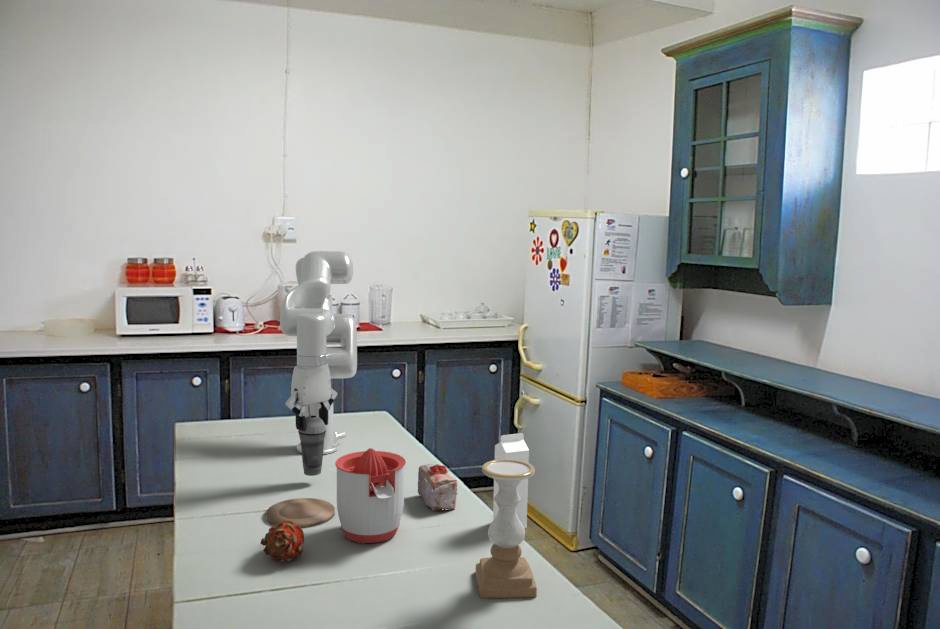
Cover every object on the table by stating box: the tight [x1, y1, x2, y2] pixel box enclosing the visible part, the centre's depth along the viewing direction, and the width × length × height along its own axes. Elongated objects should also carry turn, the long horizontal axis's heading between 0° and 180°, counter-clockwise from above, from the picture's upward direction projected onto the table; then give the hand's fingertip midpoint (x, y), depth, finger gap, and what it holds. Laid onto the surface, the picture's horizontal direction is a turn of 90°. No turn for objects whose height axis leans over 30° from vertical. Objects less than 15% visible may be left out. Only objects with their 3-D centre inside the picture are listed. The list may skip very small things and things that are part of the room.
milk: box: [492, 432, 530, 529], centre depth 174 cm, size 6×6×22 cm
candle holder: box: [474, 459, 538, 599], centre depth 146 cm, size 11×11×24 cm
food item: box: [417, 463, 458, 511], centre depth 188 cm, size 14×8×10 cm, turn 23°
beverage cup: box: [297, 405, 326, 477], centre depth 198 cm, size 7×7×20 cm
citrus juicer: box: [334, 447, 407, 544], centre depth 167 cm, size 16×17×20 cm
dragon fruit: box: [260, 520, 305, 563], centre depth 156 cm, size 8×8×12 cm
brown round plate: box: [265, 497, 336, 529], centre depth 179 cm, size 16×16×1 cm
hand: (312, 426), depth 197 cm, fingers closed on beverage cup, 6 cm apart
